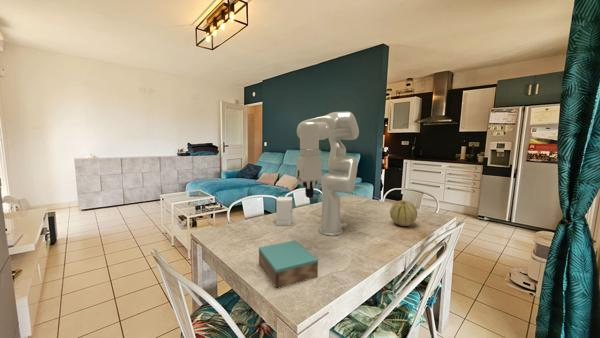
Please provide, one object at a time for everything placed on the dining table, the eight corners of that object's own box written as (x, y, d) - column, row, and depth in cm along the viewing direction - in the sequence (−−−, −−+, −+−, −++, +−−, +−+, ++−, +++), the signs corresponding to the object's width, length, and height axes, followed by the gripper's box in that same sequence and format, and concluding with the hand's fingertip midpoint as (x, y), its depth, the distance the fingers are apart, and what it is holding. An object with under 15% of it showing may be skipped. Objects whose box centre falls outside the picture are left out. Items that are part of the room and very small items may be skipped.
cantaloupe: (411, 221, 149) (412, 197, 148) (420, 230, 135) (422, 203, 133) (386, 220, 151) (387, 196, 149) (393, 229, 136) (394, 202, 135)
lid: (295, 242, 104) (295, 240, 104) (317, 262, 88) (317, 259, 88) (258, 249, 97) (258, 247, 97) (276, 272, 80) (276, 269, 80)
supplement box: (291, 225, 140) (291, 200, 138) (276, 225, 140) (276, 200, 138) (292, 220, 149) (292, 196, 147) (277, 220, 149) (277, 196, 147)
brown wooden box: (295, 254, 105) (295, 242, 104) (317, 276, 88) (317, 262, 88) (259, 263, 97) (258, 250, 97) (276, 288, 81) (276, 273, 80)
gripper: (319, 151, 105) (319, 192, 108) (288, 153, 98) (289, 197, 101) (330, 152, 99) (329, 196, 102) (297, 154, 92) (297, 202, 95)
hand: (309, 197), depth 101 cm, fingers closed
